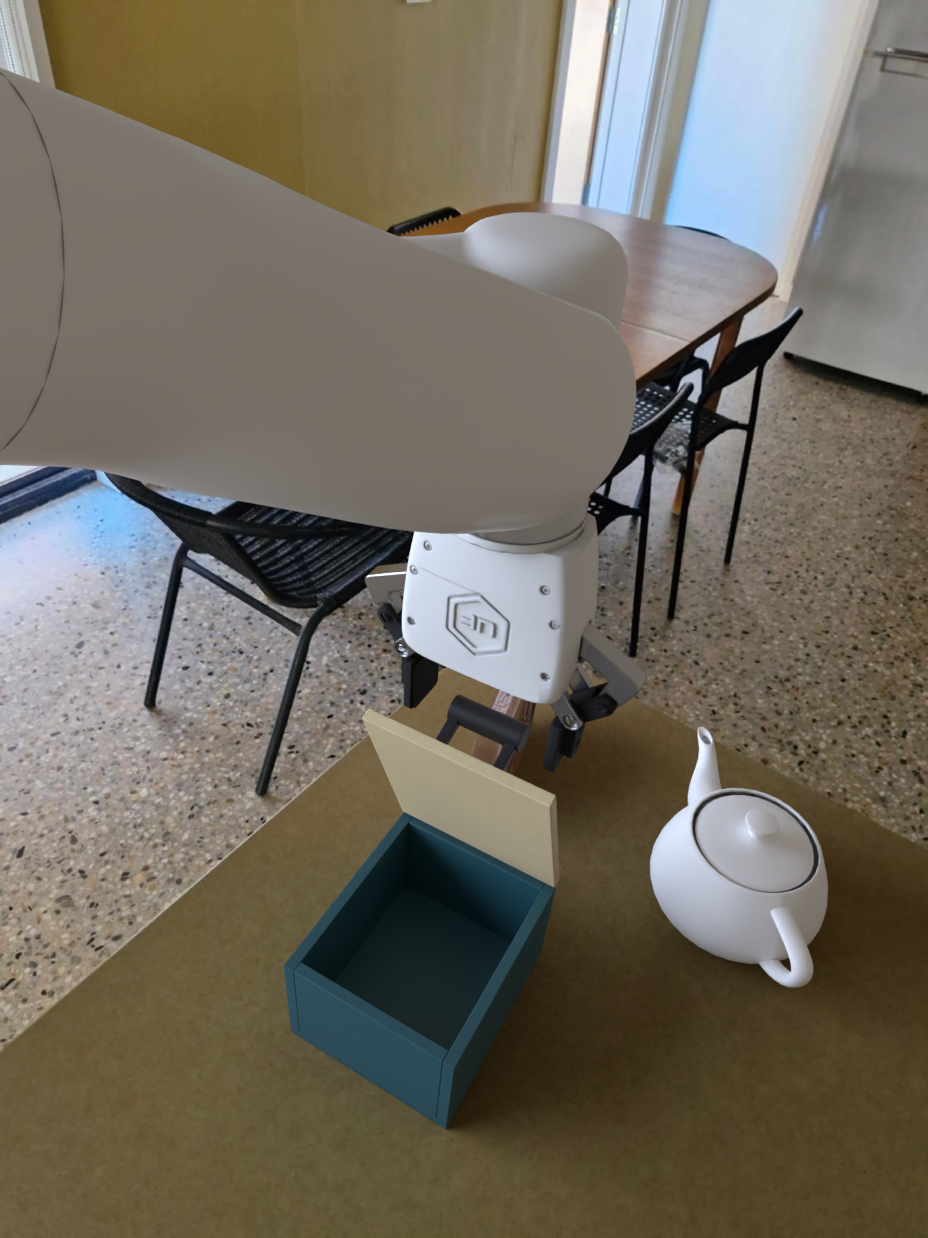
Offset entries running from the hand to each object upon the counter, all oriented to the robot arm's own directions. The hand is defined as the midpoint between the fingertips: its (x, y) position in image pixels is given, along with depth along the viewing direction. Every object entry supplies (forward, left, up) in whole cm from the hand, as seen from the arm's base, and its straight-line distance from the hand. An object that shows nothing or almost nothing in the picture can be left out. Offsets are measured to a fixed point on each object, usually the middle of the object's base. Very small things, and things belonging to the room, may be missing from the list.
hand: (487, 724), depth 55 cm
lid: (-2, 0, -6) cm, 7 cm away
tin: (+16, +5, -23) cm, 28 cm away
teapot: (+14, -17, -23) cm, 32 cm away
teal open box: (-6, 0, -23) cm, 23 cm away
